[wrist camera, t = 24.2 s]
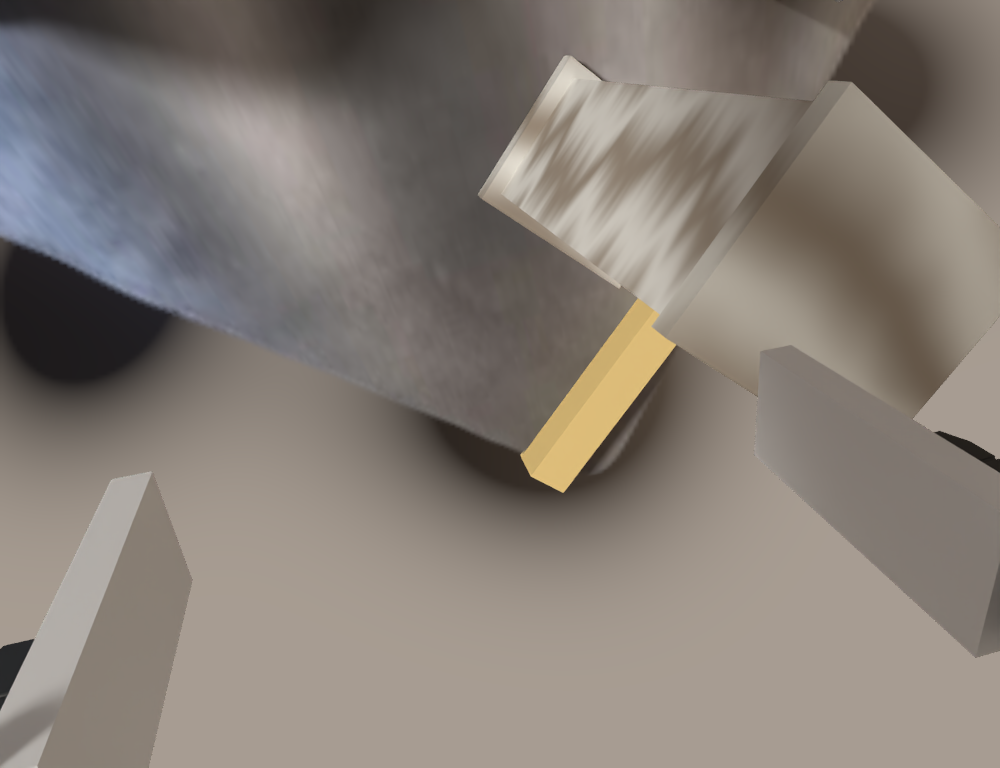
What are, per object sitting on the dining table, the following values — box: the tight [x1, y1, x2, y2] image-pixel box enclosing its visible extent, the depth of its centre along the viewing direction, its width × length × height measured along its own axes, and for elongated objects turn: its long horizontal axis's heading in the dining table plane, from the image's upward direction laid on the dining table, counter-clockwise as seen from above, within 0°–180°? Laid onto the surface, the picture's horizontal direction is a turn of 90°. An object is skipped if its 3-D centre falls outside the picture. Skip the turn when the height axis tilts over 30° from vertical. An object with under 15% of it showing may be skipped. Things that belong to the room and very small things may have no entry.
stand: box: [478, 56, 1000, 419], centre depth 40 cm, size 11×13×30 cm
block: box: [520, 298, 676, 493], centre depth 59 cm, size 24×4×4 cm, turn 145°
